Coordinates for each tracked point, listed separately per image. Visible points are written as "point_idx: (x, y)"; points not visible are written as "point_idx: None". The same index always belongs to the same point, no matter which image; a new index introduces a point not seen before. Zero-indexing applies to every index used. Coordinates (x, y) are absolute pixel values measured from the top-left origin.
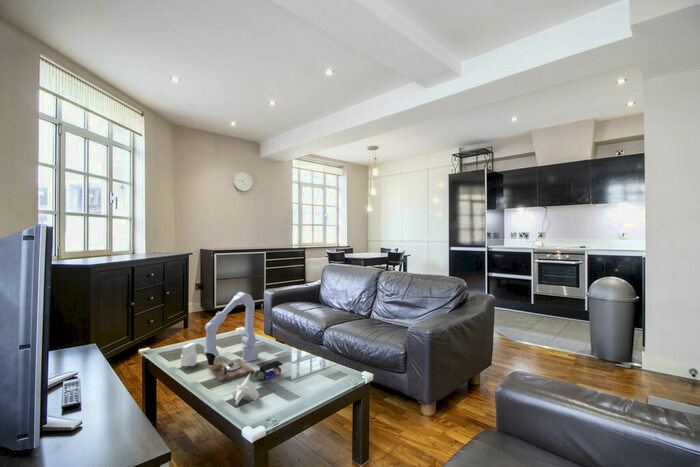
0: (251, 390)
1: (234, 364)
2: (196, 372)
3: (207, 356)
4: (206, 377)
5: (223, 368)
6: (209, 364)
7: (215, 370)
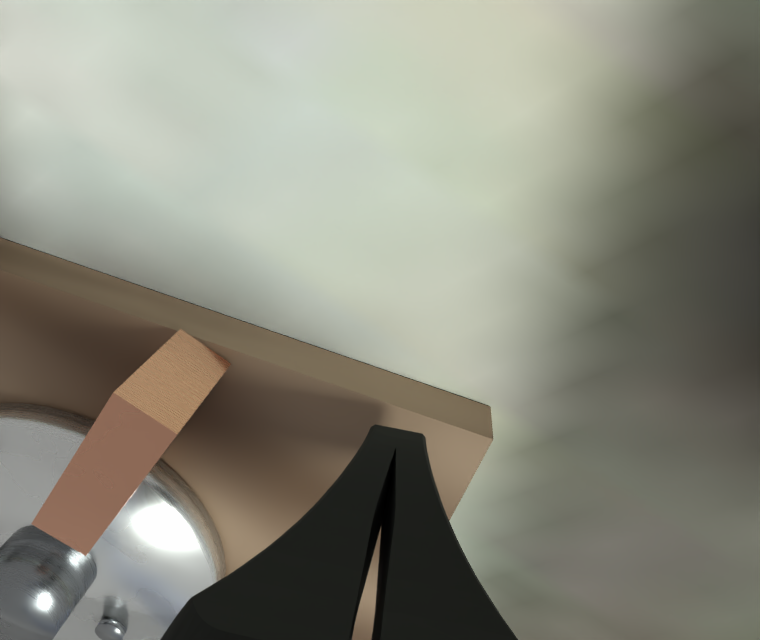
0: None
1: (76, 611)
2: (543, 150)
3: (335, 610)
4: (94, 107)
5: (22, 448)
6: (369, 437)
7: (145, 358)
